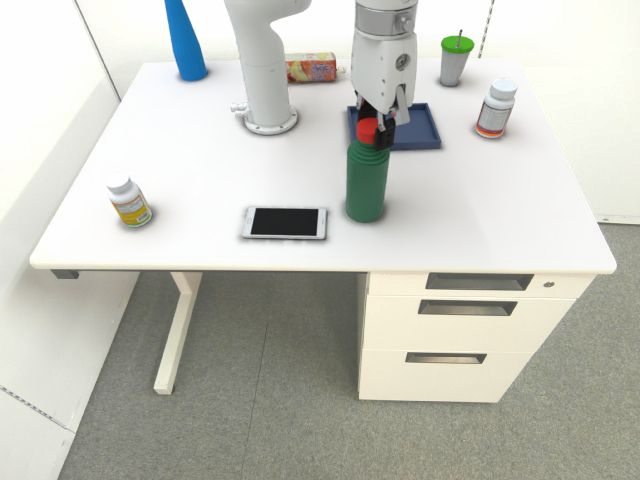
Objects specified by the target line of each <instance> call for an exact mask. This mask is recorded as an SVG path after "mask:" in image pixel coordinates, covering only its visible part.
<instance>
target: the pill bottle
mask: <svg viewBox="0 0 640 480" xmlns="http://www.w3.org/2000/svg"><path fill="white" fill-rule="evenodd" d="M518 88H519V87H518V83H516V82H515V81H513V80H511V79H508V78H496V79H494V80H493V81H492V82H491V84H490V88H489V91H488V92H487V93H486V94H485V96H484V98H483V102H482V105H481V107H480V111H479V115H478V118H477V121H476V124H475V132H476V133H477V134H478V135H480V136H481V137H483V138H486V139H496V138H499V137H502V135H503V134H504V132H505V129H506V127H507V125H508V121H509V119H510V117H511V114H512V110H513V108H514V106H515V103H516V98H515V96H516V93H517V90H518Z"/></svg>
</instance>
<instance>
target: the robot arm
mask: <svg viewBox="0 0 640 480" xmlns="http://www.w3.org/2000/svg"><path fill="white" fill-rule="evenodd" d="M312 2H313V0H223V3H224V6H225V8H226V12H227V14H228V17H229V20H230V24H231V26H232V30H233V33H234V37H235V42H236V46H237V52H238V56H239V57H238V58H239V61H240V67H241V72H242V77H243V83H244V89H245V93H246V94H245V95H246V100H247V101H244V102H243V103H230V111H231V113H234V117H235V118H240V117H244V123H245V126H246V128H247V129H248V130H249V131H251V132H253V133H254V134H258V135H265V136H269V135H270V136H272V135H278V134H283V133H285V132H287V131H289V130H290V129H292V128H293V127H295V125H296V124H297V122H298V112H297V109H295V107H293V106H292V105H291V104H290V94H289V93H290V92H289V84H288V83H289V82H287V73H286V63H285V54H286V53H285V46H284V43H283V40H282V38H281V37H280V35H279V34H278V33H277V32H276V31H275V30H274V29H273V28H272V27H271V24H272V23H273V22H276V21H278V20H281V19H285V18H288V17H291V16H294V15H298V14H301V13H303V12H305V11H307V10H308V9H309V7H310V6H311V5H312ZM418 5H419V0H354V24H353V25H354V26H353V28H354V30H353V35H352V36H353V37H352V46H351V58H350V83H351V86H352V87H353V89H354V94H355V96H356V101H355V106H356V107H357V109H358V110H359V109H360V110H359V111H358V116H357V124H358V122H359V121H360V120H362V119H364V118H376V117H377V110H378V127H377V128H376V129H375V139H374V150H375V151H376V152H378V151H381V150H384V149H386V148H389V147H392V146H393V143H394V135H395V128H396V127H397V126H398V125H403V124H406V123H409V122H410V117H409V112H408V108H407V107H411V106H412V103H414V98H415V91H416V83H417V71H418V38H417V37H418V36H417V34H416V32H415V28H416V20H417V14H418V7H419V6H418ZM389 112H391V118H389V119H387V120H386V117H385V114H388V113H389Z"/></svg>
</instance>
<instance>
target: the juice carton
mask: <svg viewBox="0 0 640 480" xmlns="http://www.w3.org/2000/svg"><path fill="white" fill-rule="evenodd" d="M285 63H286V73H287V83H300V82H301V83H302V82H335V80H336V79H337V59H336V55H335V53H334V52H332V51H325V52H295V53H293V52H292V53H285Z"/></svg>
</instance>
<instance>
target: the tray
mask: <svg viewBox="0 0 640 480" xmlns="http://www.w3.org/2000/svg"><path fill="white" fill-rule="evenodd" d="M407 108H408V112H409V117H410V122H409V123H406V124H403V125H398V126H397V127H396V128H395V135H394V143H393V146H392V147H389V149H390V152H391V151H413V150H438V149H440V148H441V144H442V139H441V136H440V134H439V131H438V128H437V125H436V123H435V120H434V116H433V114H432V111H431V109H430V106H429V104H428V102H413V103H412V106H411V107H407ZM359 110H360V109H359ZM359 110H358V109H357V107H356V105H347V106H346V114H347V123H348V131H349V139H350V144H351V143H352V142H353V141H354V140H356V139H358V138H357V116H358V111H359ZM385 117H386V120H387V119H389V118H391V112H389V113H388V114H385ZM376 119H378V110H377V117H376Z"/></svg>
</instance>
